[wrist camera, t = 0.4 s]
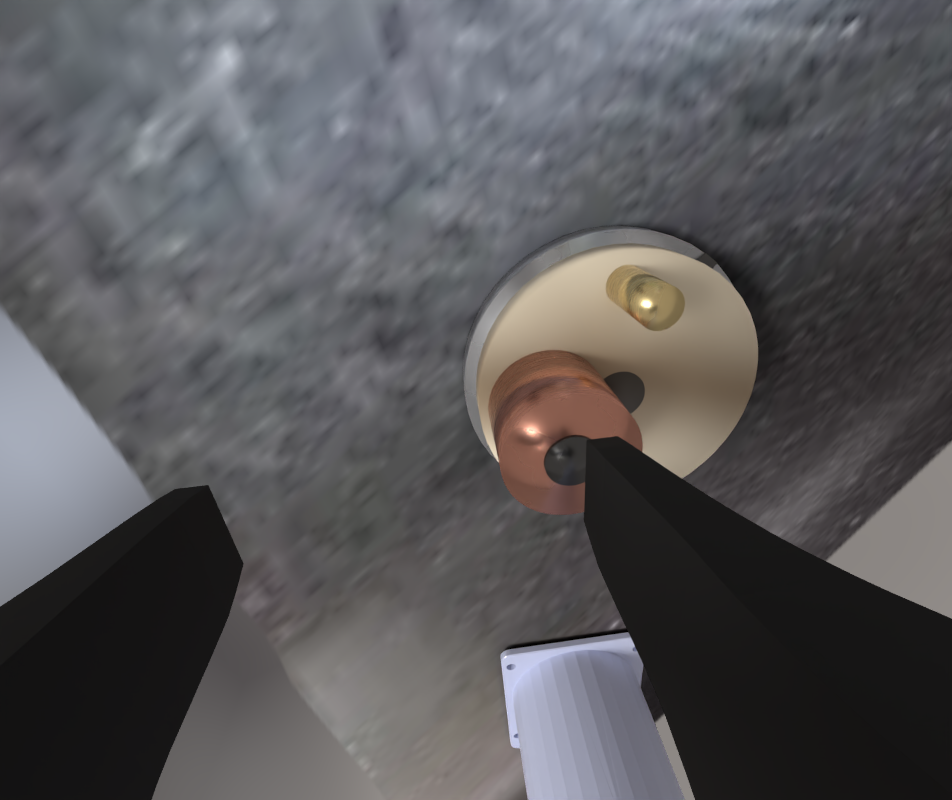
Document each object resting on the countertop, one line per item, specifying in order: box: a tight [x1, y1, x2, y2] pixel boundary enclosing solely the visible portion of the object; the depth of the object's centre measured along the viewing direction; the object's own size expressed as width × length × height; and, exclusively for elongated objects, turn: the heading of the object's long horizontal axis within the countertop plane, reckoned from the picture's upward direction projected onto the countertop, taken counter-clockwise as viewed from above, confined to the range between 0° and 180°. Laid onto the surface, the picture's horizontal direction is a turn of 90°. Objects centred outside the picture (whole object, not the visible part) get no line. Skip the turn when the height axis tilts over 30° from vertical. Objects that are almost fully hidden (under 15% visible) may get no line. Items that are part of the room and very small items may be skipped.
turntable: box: [476, 243, 758, 478], centre depth 15 cm, size 10×10×4 cm
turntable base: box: [463, 225, 732, 460], centre depth 17 cm, size 10×10×1 cm
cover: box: [488, 350, 643, 515], centre depth 14 cm, size 4×4×3 cm
